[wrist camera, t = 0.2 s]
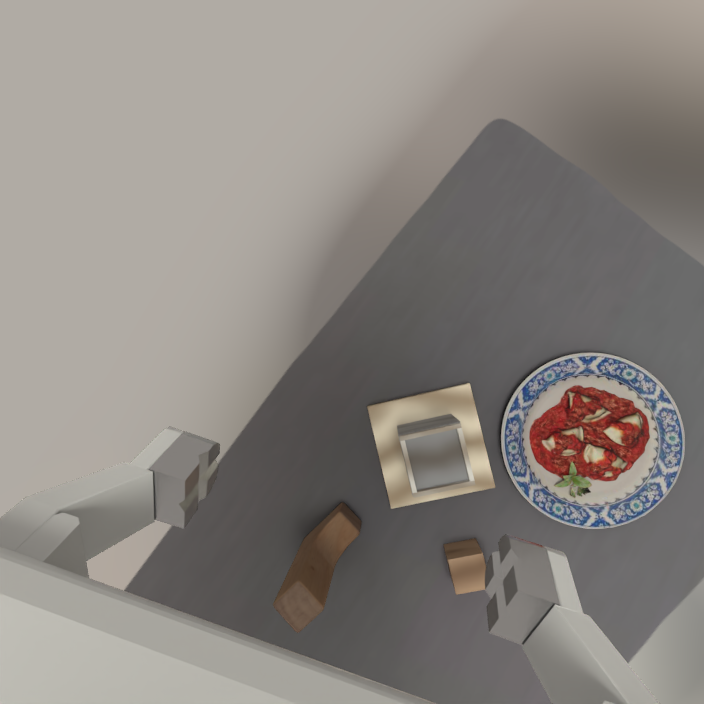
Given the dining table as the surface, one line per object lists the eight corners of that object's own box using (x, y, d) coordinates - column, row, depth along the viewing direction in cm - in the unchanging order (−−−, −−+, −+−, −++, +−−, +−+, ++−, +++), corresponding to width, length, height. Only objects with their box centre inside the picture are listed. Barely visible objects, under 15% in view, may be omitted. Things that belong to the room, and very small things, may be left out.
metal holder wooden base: (492, 484, 63) (513, 508, 53) (391, 505, 65) (391, 532, 54) (467, 383, 64) (483, 387, 54) (367, 405, 65) (363, 414, 55)
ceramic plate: (559, 320, 63) (568, 318, 60) (710, 416, 61) (726, 419, 58) (464, 457, 64) (468, 462, 61) (609, 557, 62) (620, 567, 59)
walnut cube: (483, 570, 63) (491, 588, 58) (451, 576, 64) (456, 594, 59) (475, 538, 63) (482, 553, 58) (443, 544, 64) (447, 559, 59)
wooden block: (342, 500, 65) (325, 553, 47) (362, 521, 65) (352, 583, 47) (302, 538, 66) (270, 606, 48) (322, 560, 65) (297, 635, 47)
